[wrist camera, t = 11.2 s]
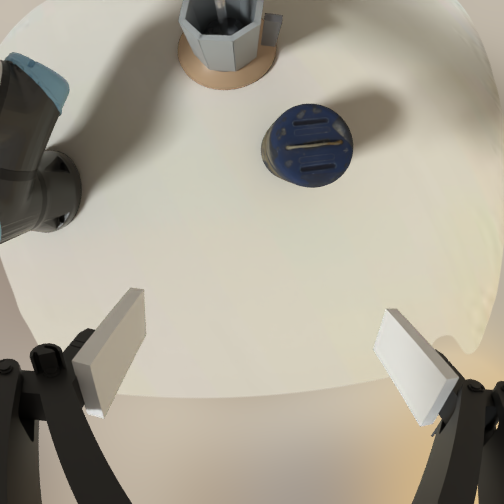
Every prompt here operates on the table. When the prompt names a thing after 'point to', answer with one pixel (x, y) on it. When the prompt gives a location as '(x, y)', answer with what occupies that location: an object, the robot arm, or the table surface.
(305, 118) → the canister
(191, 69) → the press carafe
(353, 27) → the table surface
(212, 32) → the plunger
